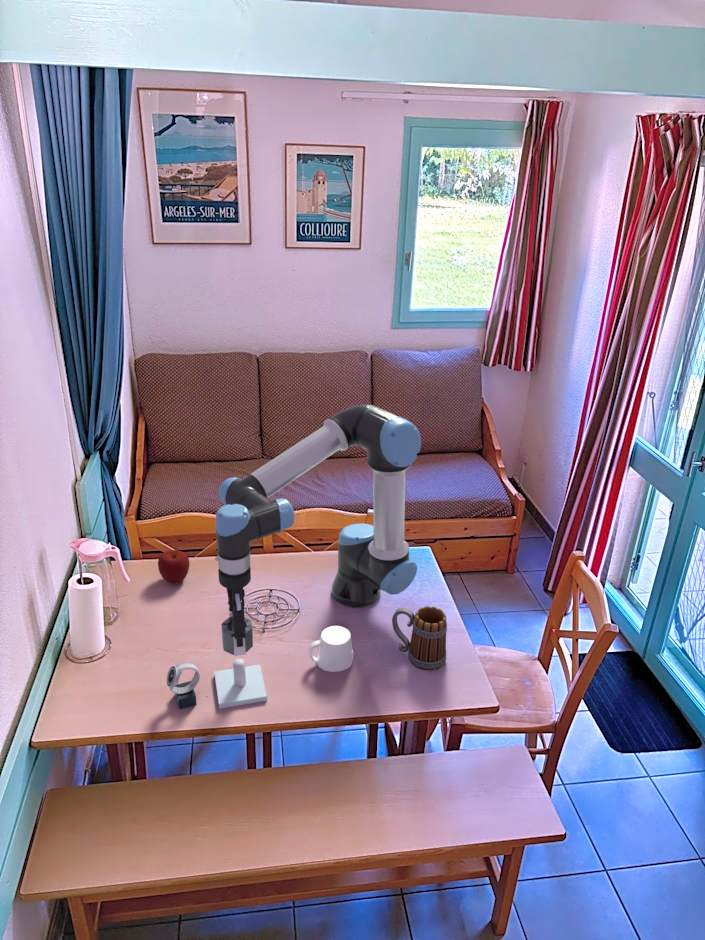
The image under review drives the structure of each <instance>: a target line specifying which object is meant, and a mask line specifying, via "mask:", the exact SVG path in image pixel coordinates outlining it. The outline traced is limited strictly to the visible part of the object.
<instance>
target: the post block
mask: <svg viewBox="0 0 705 940" xmlns="http://www.w3.org/2000/svg"><path fill="white" fill-rule="evenodd" d="M232 665H233V667H232V668H228V669H220V670H216V671H215V670H214V673H213V674H214V679H215V680H214V681H215V687H216V694H217V701H218V707H219V708H218V709H225V708H226V709H227V708H231V707H238V706H243V705H249V704H255V703H260V702H261V703H263V702H267V701H268V695H267V691H266V685H265V682H264V677H263V672H262V667H261V664H259V663H258V664H253V665H248V666H246V661H245V659H243V658H236V659H234V660H233V662H232Z"/></svg>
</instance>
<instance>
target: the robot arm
mask: <svg viewBox="0 0 705 940" xmlns="http://www.w3.org/2000/svg"><path fill="white" fill-rule="evenodd" d="M354 446H358V447H360V448H362V449H364V450H366V452H367V454H366V455H367V462H366V463H367V466H368V468H370V469H371V470H372V477H373V478H372V483H373V485H372V486H373V489H372V491H373V493H372V494H373V495H372V497H373V500H372V503H373V505H372V506H373V510H372V511H373V512H372V514H373V523H372V524H369V523H354V524H353V523H352V524H349V525H347V526H345V527H344V528H342V529H341V531H340V532H339V535H338V541H337V544H338V545H337V546H338V547H337V554H338V555H337V572H336V575H335V578H334V580H333V582H332V584H331V596H332V598H333V599H334V600H335V601H336V602H337V603H338V604H341V605H342V606H345V607H349V608H359V609H360V608H365V607H369V606H372V605H374V604H375V603H377V602H378V600H379V599H380V597H381V591H383V592H386V593H387V594H389V595H391V596H392V595H398V594H400V593H403V592H404V591H405V590H406V589H408V588H409V586H410V585H411V584H412V583H413V581H414V580H415V578H416V576H417V572H418V566H417V563H416V562H415V561H414V560H413V559H411V558H410V546H409V543H408V542H407V541H406V540H405V512H406V511H405V510H406V508H405V503H406V502H405V501H406V500H405V499H406V472H407V470H408V469H410V467H411V465H412V463H414V462H415V460H416V459H417V458H418V455H417V454H419V453H420V451H421V448H422V437H421V433H420V431H419V429H418V427H417V426H416V425H415V424H413V423H412V422H411V421H409V420H408V419H406V418H404V417H403V416H400V415H399V416H398V415H395V414H393V413H391V412H389V411H387V410H385V409H383V408H381V407H379V406H377V405H375V404H374V405H373V404H365V403H364V404H358V405H354V406H351V407H347V408H346V409H343V410H341V411H339V412H337V413H336V414H333V415H332V416H330V417H329V418H326V419H325V420H324V422H323V425H322V426H321V427H320V428H318V429H317V430H315V431H314V432H313V433H311V434H309V435H308V436H306V437H305V438H303V439H301V440H299V442H296V444H294V445H292V446H291V447H290V448H288V449H287V450H285V451H283V452H282V453H281V454H279V455H277V456H276V457H274V458H272V459H271V460H269V461H267V463H265V464H262V465H261V466H260V467H259V468H257V469H256V470H254V471H252V472H251V473H249V474H248V475H246V476H245V477H244V478H242V479H241V478H238V477H229V478H227V479H225V480H224V481H223V482H222V483H221V484H220V487H219V489H218V497H219V500H220V501H221V502H222V503H223V506H221V507H219V508H218V510H217V511H216V513H215V527H214V530H215V536H216V550H217V556H215V558H214V561H215V562H217V565H218V570H217V571H218V573H217V574H218V581H219V584H220V586H222V587H224V588H225V589H226V594H227V598H228V602H227V605H228V611H229V615H228V616H229V617H233V627H234V633H233V634H231V637H233V641H234V655H233V656H234V657H239V656H244V655H245V656H246V653H247V652H245V638H246V634H245V618H246V617H245V597H246V593H245V589H244V587H246V586H248V585H249V583H250V582H251V581H252V577H251V576H252V575H251V572H252V571H251V570H252V569H251V543H253V542H254V541H258V540H260V539H263V538H265V537H269V536H272V535H274V534H278V533H281V532H282V531H284V530H287V529H289V528H291V527H292V526H293V525H294V523H295V521H296V520H295V515H296V514H295V511H294V510H295V509H294V508H293V505H292V504H291V502H290V501H289V500H288V499H286V498H282V497H281V498H276V499H273V500H270V499H269V498H270V497H271V496H273V495H274V494H276V493H277V492H279V491H280V490H282V489H283V488H285V487H286V486H287V485H289V484H290V483H292V482H293V481H294V480H296V479H298V478H299V477H301V476H302V475H304V474H305V473H307V472H309V471H310V470H311V469H313V468H314V467H316V466H317V465H319V464H320V463H321V462H323V461H324V460H326V459H328V458H329V457H330V456H332V455H334V454H335V453H336V452H338V451H342V452H344V451H346V450H348V449H349V448H351V447H354Z"/></svg>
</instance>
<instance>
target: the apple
mask: <svg viewBox="0 0 705 940" xmlns="http://www.w3.org/2000/svg"><path fill="white" fill-rule="evenodd" d="M157 566H158V571H159V574H160V576H161V577H162V579H163V580H164V581H165V582H167V583H168V584H171V585H177V584H179V583H182V582H183V581H184V580H185V579H186V577H187V575H188V574H189V569H190V558H189V556H188V555H187V554H186V552H184V551H181V550H177V549H171V550H167V551H165V552H163V553H162V554H160V556H159V558H158V559H157Z"/></svg>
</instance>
